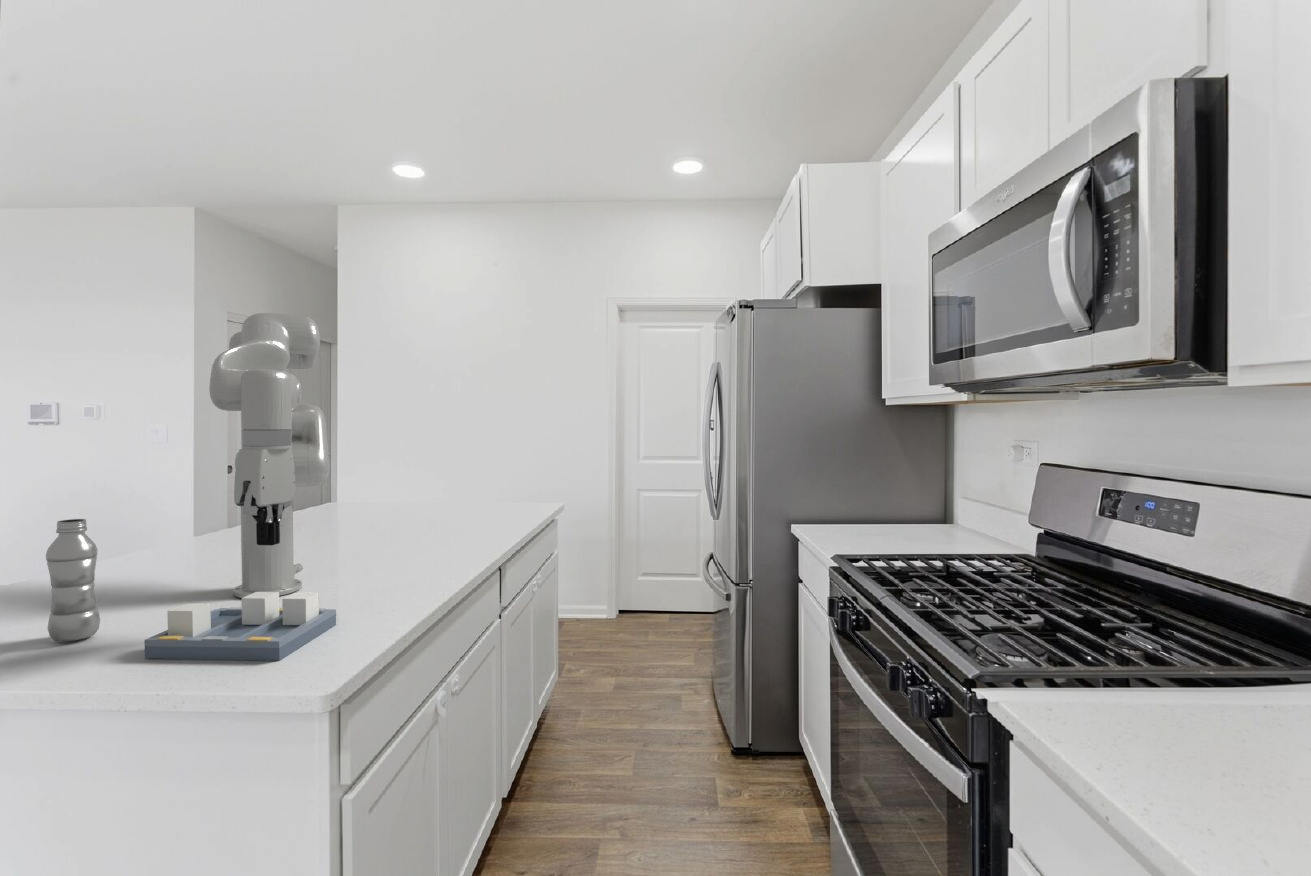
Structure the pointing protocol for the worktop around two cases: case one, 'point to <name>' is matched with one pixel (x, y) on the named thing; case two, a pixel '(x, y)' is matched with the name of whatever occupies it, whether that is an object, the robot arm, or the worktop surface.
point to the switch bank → (240, 638)
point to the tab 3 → (300, 607)
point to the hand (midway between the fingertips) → (268, 544)
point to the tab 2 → (260, 608)
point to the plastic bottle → (72, 583)
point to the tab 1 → (189, 620)
